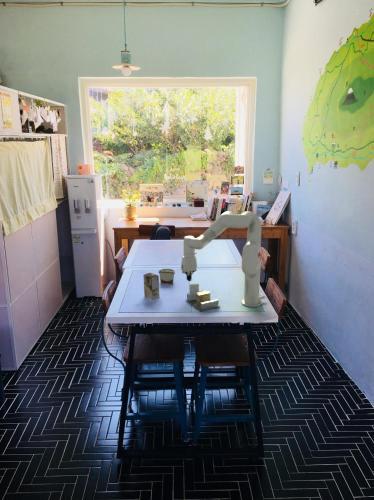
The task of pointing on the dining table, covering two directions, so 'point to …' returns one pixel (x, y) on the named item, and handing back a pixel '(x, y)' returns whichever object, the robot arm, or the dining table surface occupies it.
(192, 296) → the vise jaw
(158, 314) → the dining table surface
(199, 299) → the block
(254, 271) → the robot arm
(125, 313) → the dining table surface
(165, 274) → the food container
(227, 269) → the dining table surface
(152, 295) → the coffee box
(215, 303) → the panel
